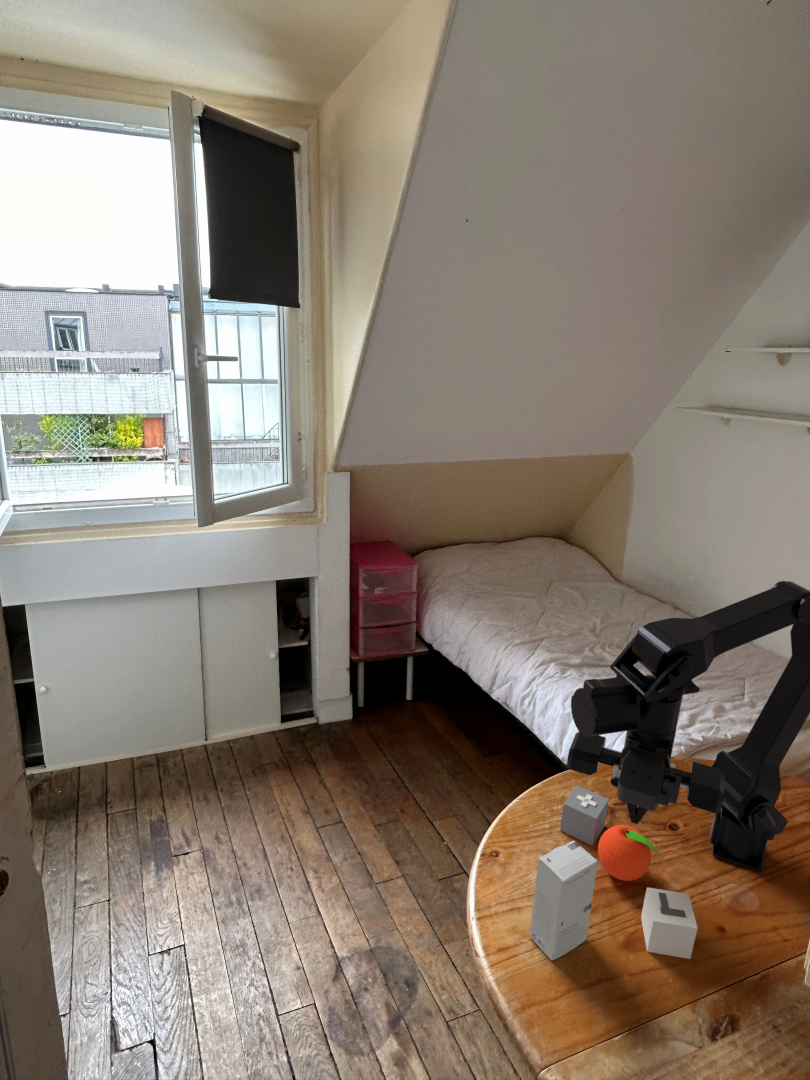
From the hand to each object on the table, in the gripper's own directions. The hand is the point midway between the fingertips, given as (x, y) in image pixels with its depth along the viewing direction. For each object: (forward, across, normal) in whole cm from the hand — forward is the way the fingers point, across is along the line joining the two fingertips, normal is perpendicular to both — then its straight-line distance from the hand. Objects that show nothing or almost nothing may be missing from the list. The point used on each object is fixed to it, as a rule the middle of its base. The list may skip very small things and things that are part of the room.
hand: (634, 821), depth 91 cm
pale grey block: (+9, +6, -8) cm, 14 cm away
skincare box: (+9, -6, -14) cm, 18 cm away
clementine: (+9, 0, 0) cm, 9 cm away
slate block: (+9, -7, +6) cm, 13 cm away
